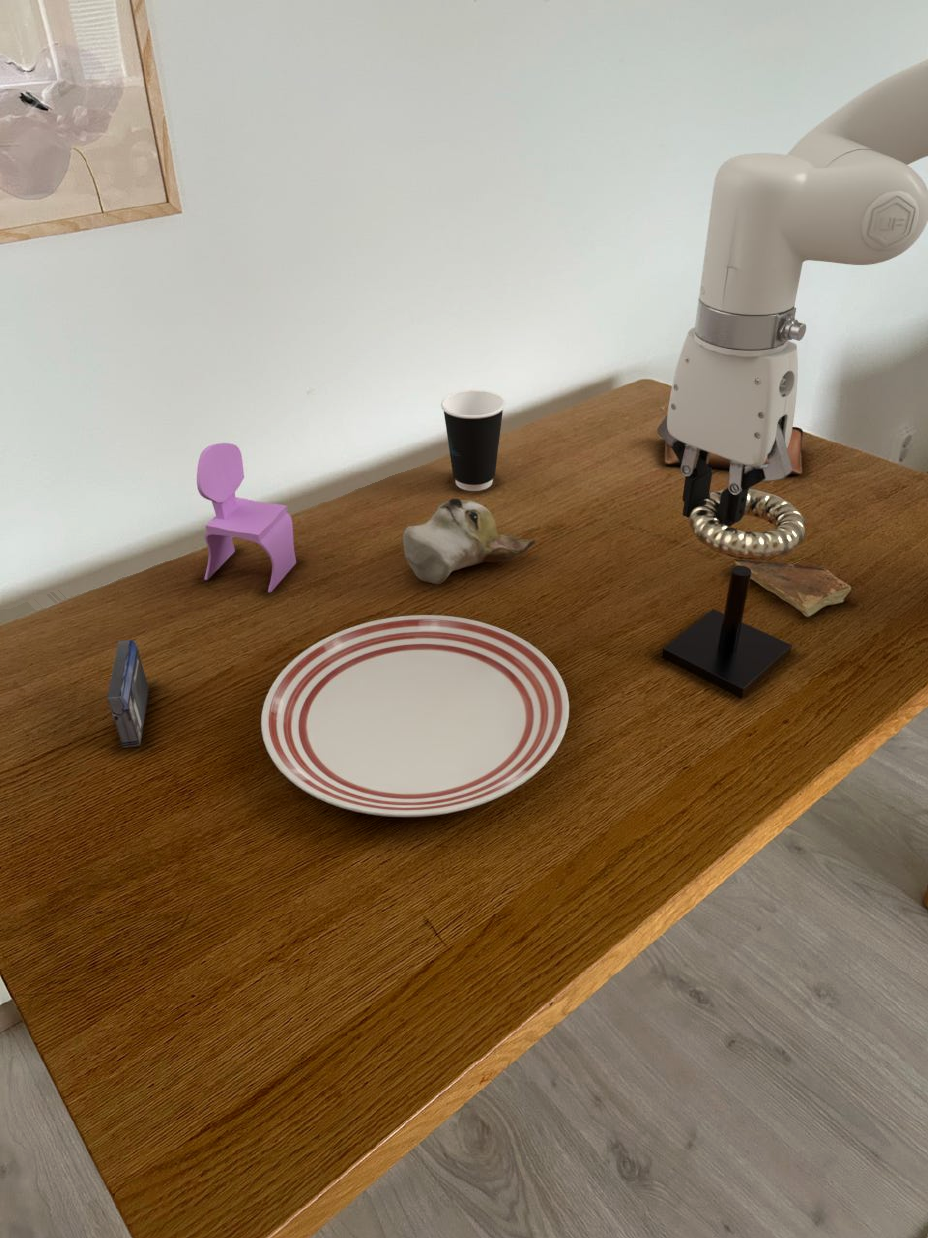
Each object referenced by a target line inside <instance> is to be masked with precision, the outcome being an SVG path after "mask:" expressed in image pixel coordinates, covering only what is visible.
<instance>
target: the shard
mask: <svg viewBox="0 0 928 1238" xmlns="http://www.w3.org/2000/svg"><path fill="white" fill-rule="evenodd" d="M733 562H734V564H735V566H737V565H742V566H746V567H748V568H750V569H751V578H750V580H752V581H754V582H755V583H756V584H758V585H759V586H761V587H762V588H764V589H765V590H767V591H768V592H771V593H772V594H775V595H776V596H777V597H779V599H781V600H782V601H784V602H786V603H788V604H790V605H791V606H792V607H794V608H795V609H796V610H798V611H799V612H801V613H802V615H803V616H804V617H806V618H809V617H811V616H813V615H814V614H816V613H817V612H819V611H820V610H821V609H823V608H825V607H826V606H833V605H837V604H842V603H844V602H845V598H847V595H848V594H849V593H850V592H851V590H852V586H851V585H849V584H848V583H847V582H844V581H843V580H841V579H839V578H838V577H837V576H836V575H834V574H833V573H832V572H830V570H829V568H825V567H821V566H820V567H819V566H814V565H813V566H812V565H801V564H797V563H787V562H778V561H776V562H775V561H774V562H773V561H763V560H750V559H738V558H733Z"/></svg>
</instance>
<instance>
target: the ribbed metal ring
mask: <svg viewBox="0 0 928 1238" xmlns="http://www.w3.org/2000/svg"><path fill="white" fill-rule="evenodd" d="M724 490H725V489H722V490H718V491H713V492H709V494H708V495H706V496H705V497H703V498H702V499H700V500H699V501H697V502H696V503H695V504H694V506H693V508H692V511H691V515H690V517H689V519H688V520H689V521H688V523H689V527H690V529H691V531H692V533H693V534H694V535H695V537H696V539H697V540H698V542H700V543H701V544H703V546H706V547H707V548H709V549H711V550H712V551H714V552H716V553H717V554H721V555H724V556H727V557H732V558H734V559H738V560H750V561H767V560H770V559H774V558H780V557H783V556H786V555H788V554H790V553H791V552H792V551H794V550H795V549H796V548H797V547H799V546H800V545H801V544H802V542H803V541H804V539H805V534H806V519H805V518H804V516H803V515H802V514H801V512H800V511H799V510H798V509H797V508H796V506H795V505H794V504H793V503H791V502H789V501H788V500H785V499H784V498H781V497H780V496H777V495H776V494H773V493H769V492H766V491H761V490H757V489H751V488H749V490H748V496H747V501H746V507H745V512H744V515H743V516H750V517H753V518H757V519H761V520H764V521H766V522H767V523H769V524H771V525H773V526H774V527H775V528H774V529H771V530H770V529H769V530H765V531H745V530H742V529H737V528H734V527H731V526H730V527H728V526H727V525H725V524H723V523H721V522H720V521H719V520H718V519H717V516H718V510H719V503H720V497H721V493H722V492H723V491H724Z"/></svg>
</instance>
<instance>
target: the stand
mask: <svg viewBox="0 0 928 1238" xmlns="http://www.w3.org/2000/svg"><path fill="white" fill-rule="evenodd" d="M750 578H751V569H750V568H748V567H746V566H742V565H737V566H736V565H734V566H732V568H731V571H730V576H729V581H728V587H727V593H726V600H725V605H724V610H723V612H721V611H720V610H717V609H714V608H713V609H711V610H710V611H709V612H708V613H706V614H705V615H704V616H702V617H701V618H700V619H698V620H697V621H696V622H694V623H693V624H692V625H690V627H688V628H687V629H686V630H685V631H683V632H682V633H680V635H678V636H677V637H675V638H674V639H673V640H672V641H670V642H669V643H668V644H666V645H665V646H664V647H663V648H662V653H661V658H662V659H664V660H666V661H668V662H670V663H671V664H674V665H676V666H678V667H680V668H682V669H683V670H685V671H687V672H690V673H691V674H693V675H695V676H697V677H699V678H701V679H704V680H705V681H707V682H709V683H710V684H713V685H714V686H717V687H719V688H720V689H722V690H724V691H726V692H728V693H730V694H732V695H734V696H736V697H738V698H740V699H743V698H744V697H745V696H746V695H747V694H748V693H749V692H750V691H751V690H752V689H754V688H755V687H756V686H757V685H758V684H759V683H760V682H762V680H764V679H765V678H766V677H767V676H768V675H769V674H770V673H771V672H772V671H773V670H775V669H776V668H777V667H778V666H779V665H780V664H782V663H783V661H784V660H786V659H787V658H788V657H789V656H790V655H791V651H792V648H793V647H792V646H793V645H792V644H790V643H788V642H786V641H783V640H782V639H779V638H777V637H775V636H773V635H771V634H769V633H766V632H764V631H762V630H760V629H758V628H755V627H754V626H752V625H749V624H747V623H745V622H743V618H744V614H745V608H746V603H747V599H748V592H749V589H750V582H751V579H750Z"/></svg>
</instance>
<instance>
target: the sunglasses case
mask: <svg viewBox="0 0 928 1238" xmlns="http://www.w3.org/2000/svg"><path fill="white" fill-rule="evenodd" d="M803 435H804V431H803V429H802V428H801V427H798V426H793V427H792V433H791V438H790V442H789V445H788V447H787V451H788V455H789V459H790V463H791V466H792V472H791V473H790V474H789V475H802V474H803V473H804V471H803V467H802V466H803V465H802V464H803V463H802V461H803V459H802V458H803V457H802V442H803ZM664 463H665V464H666V465H669V466H670V465H671V466H681V463H680V461H679V460H678V458H677V456H676V455H675V453H674V451H673V449H672V446H670V445H669V444H668V443H667V442H666V441H665V440H664ZM764 464H769V460H768V457H767V459H766V461H765V463H764ZM707 465H708V467H710V468H712V469H713V468H715V469H723V470H724V469H725V470H730V460H729V459H726V458H723V457H720V456H718V455H715V454H712V453H711V454H710V458H709V462H708V464H707Z"/></svg>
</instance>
